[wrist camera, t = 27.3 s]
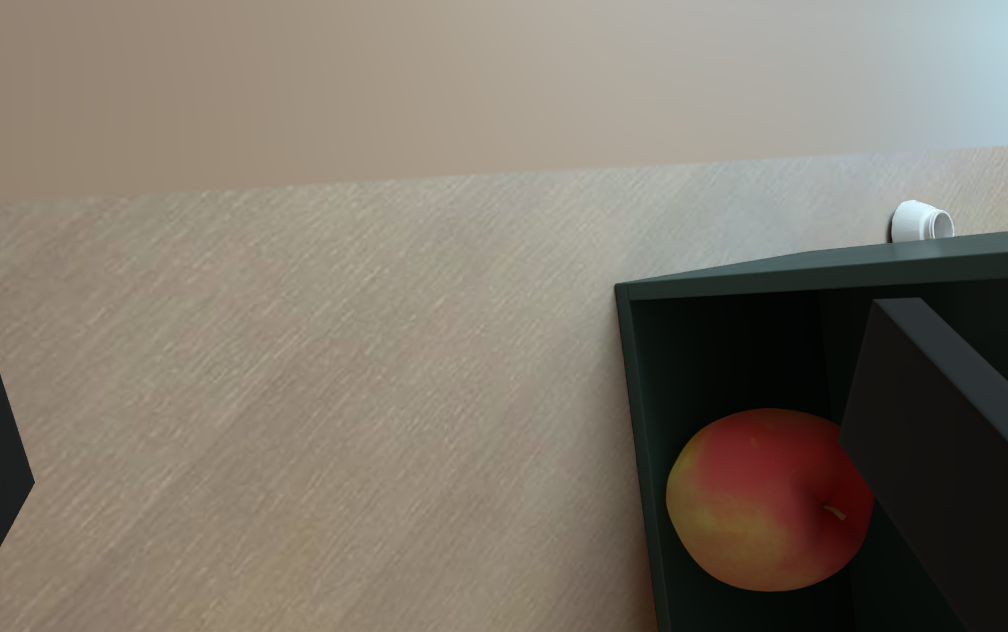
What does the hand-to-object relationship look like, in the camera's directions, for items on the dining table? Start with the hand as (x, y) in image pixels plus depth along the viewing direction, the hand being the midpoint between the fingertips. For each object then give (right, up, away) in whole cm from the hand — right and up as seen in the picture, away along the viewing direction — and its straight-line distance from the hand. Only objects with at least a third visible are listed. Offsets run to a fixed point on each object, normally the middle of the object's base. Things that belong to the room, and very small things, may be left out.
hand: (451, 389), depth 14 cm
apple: (+11, -9, +38) cm, 40 cm away
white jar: (+31, +7, +54) cm, 62 cm away
